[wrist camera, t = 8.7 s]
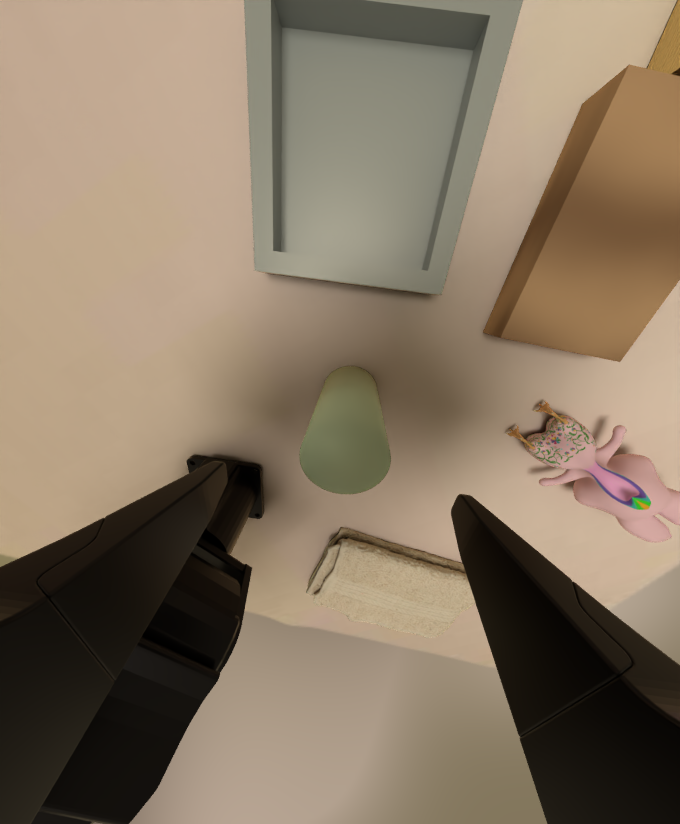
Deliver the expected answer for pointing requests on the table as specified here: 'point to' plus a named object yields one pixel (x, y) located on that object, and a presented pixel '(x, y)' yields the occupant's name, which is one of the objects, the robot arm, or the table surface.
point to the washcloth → (390, 584)
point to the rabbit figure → (605, 476)
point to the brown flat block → (602, 226)
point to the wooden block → (668, 47)
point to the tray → (368, 132)
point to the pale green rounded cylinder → (346, 435)
